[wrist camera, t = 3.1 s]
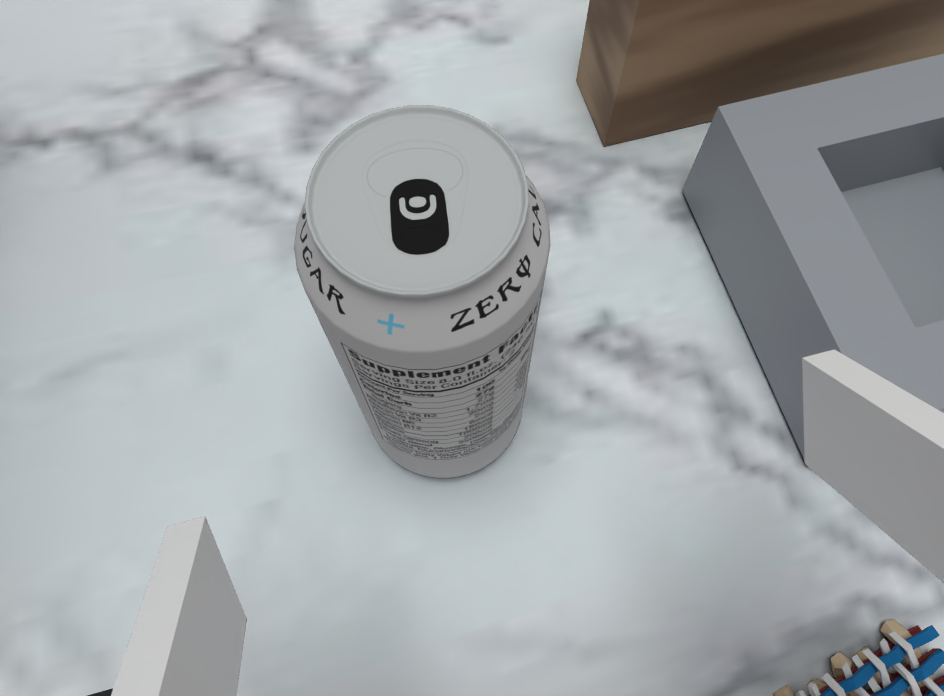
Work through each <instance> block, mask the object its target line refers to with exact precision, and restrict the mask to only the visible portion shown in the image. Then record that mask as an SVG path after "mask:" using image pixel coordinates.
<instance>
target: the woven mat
mask: <svg viewBox="0 0 944 696" xmlns="http://www.w3.org/2000/svg"><path fill="white" fill-rule="evenodd" d="M880 631H881V632H882V633H883V634H884V635H885V636H886V637H887V638H888V639H889V641H888V642H887V641H886V640H885V639H884V638H883V639H882V641H881V642H880V646H881V649H880V650H879V651H878V652H876V653H875V654H873V653H872V651H871V650H870V649H869V648H868V647H867V646H866V647H864V648H863V649H861V650H860V651H858V652H857V653H856V655H855V656H853V657H852V659H853V661H854V662H855V664H856V667H853V661H852V660H850V659H849V658H847V657H846V656H844V655H843V654H841V653H839V652H838V653H837V654H836V655H834V656H833V657H832V658H831V665H832V672H833V676H834V677H835V678H836V679H835V680H834V679H833V678H832V677H831V676H830V675H829V674H828V673H826V674H825V675H824V676H823V677H822V679H823V680H824V681H825V682H826V683H827V685H825V684H824V683H823V682H821V681H820V680H819V679H815V680H813V681H812V682H811V683H809V684H808V685H807V687H808V694H809V696H846V694H847V696H944V675H943V676H941V677H939V678H938V679H936V680H934V678H933V677H932V676H931V675H932V674H933V673H934V672H935V671H936V670H937V669H938V668H939V667H940V666H941V665H942V664H944V651H943V650H941V649H932V650H930V651H929V652H927V653H926V654H924V655H922V656H921V651H920V646H922V645H924V644H926V643H928V642H930V641H932V640H933V639H935V638H936V637H938V636H940V635H939V634H938V632H937V631H936V630H935V628H934V627H933V626H932V625H931V626H929V627H927V628H925V629H924V630H922V631H921V629H920V628H919V626H918V625H917V626H915V627H913V628H911V629H909V630H907V629H905V628H904V627H903V626H902V625H901V624H899V623H898V622H897V621H896V620H895V619H892V620H888V621H885V623H884V624H883V626H882V628H881V630H880ZM890 666H893V667H894V668H895V669H896V670H897V671H898V672H896V673H895V674H893V675H892V676H891V675H890V673H889V672H888V671H887V669H886V668H888V667H890ZM867 682H868V684H869V686H870V687H871V689H870V690H869V691H866V690H865V688H864V687H863V686H864V685H866V683H867ZM909 686H910V689H911V693H910V692H909V691H908V690H906V689H907V688H908V687H909ZM773 695H774V696H795V695H794V694H793V692H792V691H791V689H790V687H789V686H788V685H785V686H784V687H782V688H781V689H779V690H778V691H776V692H775V693H773ZM796 695H797V696H807V695H806V694H805V692H804V691H803V690H799V691H798V692H797V693H796Z"/></svg>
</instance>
